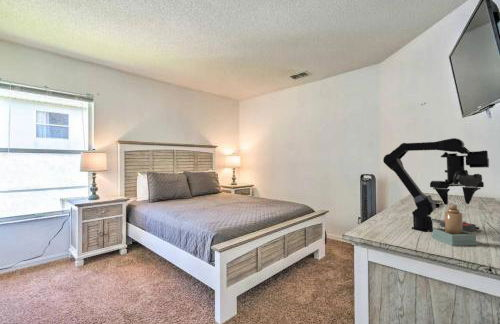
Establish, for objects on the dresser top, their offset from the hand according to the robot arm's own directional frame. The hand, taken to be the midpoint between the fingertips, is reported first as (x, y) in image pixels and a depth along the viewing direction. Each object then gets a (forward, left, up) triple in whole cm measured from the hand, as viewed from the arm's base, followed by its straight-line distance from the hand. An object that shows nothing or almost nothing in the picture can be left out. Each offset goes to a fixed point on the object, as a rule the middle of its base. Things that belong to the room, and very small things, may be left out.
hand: (456, 204), depth 104 cm
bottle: (+4, -11, -12) cm, 17 cm away
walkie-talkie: (-9, +13, -14) cm, 21 cm away
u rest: (+4, -11, -13) cm, 18 cm away
